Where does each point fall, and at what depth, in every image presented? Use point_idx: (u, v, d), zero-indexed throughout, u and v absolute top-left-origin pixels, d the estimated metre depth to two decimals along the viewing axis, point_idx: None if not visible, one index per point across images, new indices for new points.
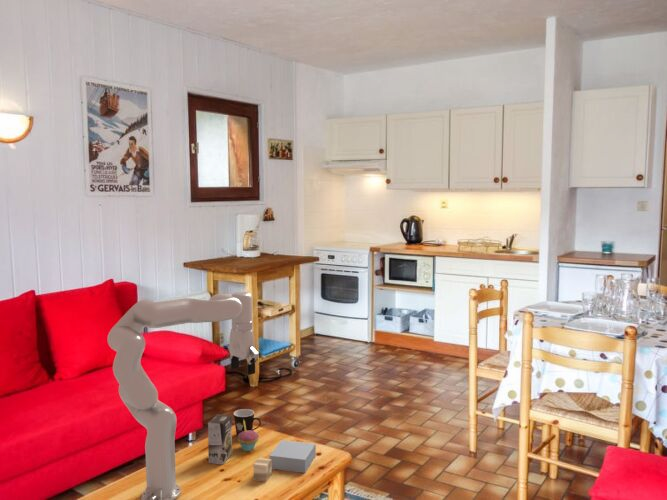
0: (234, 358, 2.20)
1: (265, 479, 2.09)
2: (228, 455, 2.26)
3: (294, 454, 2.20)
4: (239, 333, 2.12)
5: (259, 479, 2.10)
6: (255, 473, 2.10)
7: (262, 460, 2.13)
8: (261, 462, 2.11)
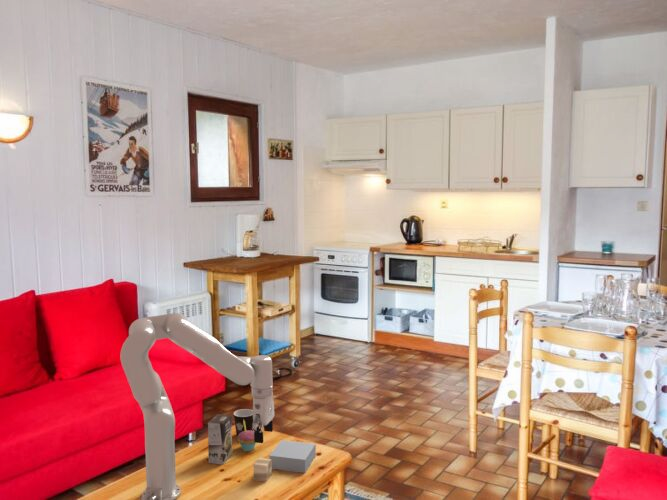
0: None
1: (265, 479, 2.09)
2: (228, 455, 2.26)
3: (294, 454, 2.20)
4: None
5: (259, 479, 2.10)
6: (255, 473, 2.10)
7: (262, 460, 2.13)
8: (261, 462, 2.11)
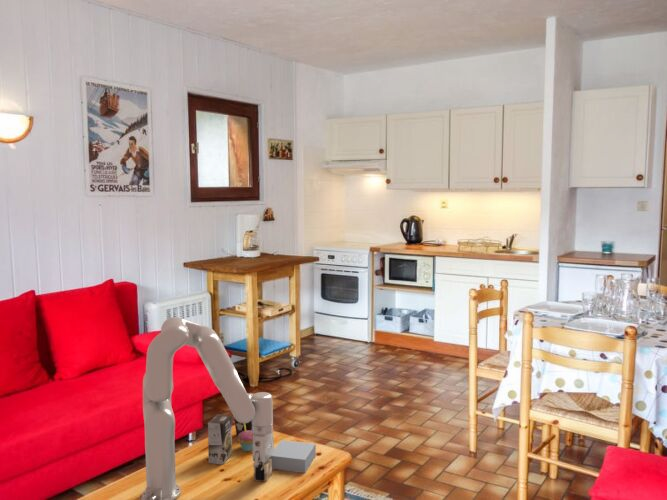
0: None
1: (265, 479, 2.09)
2: (228, 455, 2.26)
3: (294, 454, 2.20)
4: None
5: None
6: None
7: None
8: None
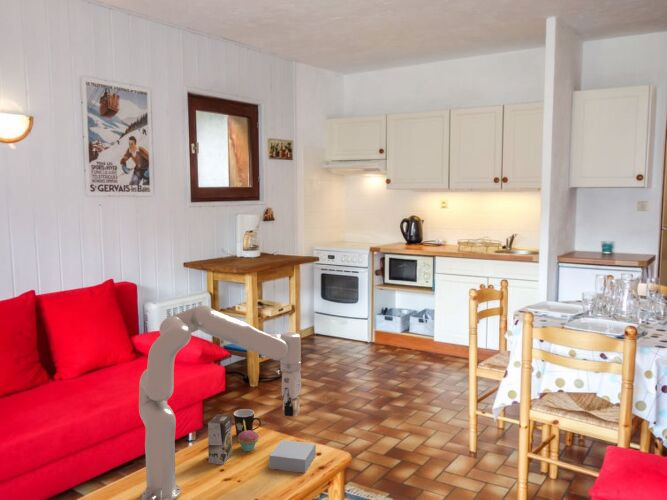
0: None
1: (294, 415, 2.18)
2: (228, 455, 2.26)
3: (294, 454, 2.20)
4: None
5: None
6: None
7: None
8: None
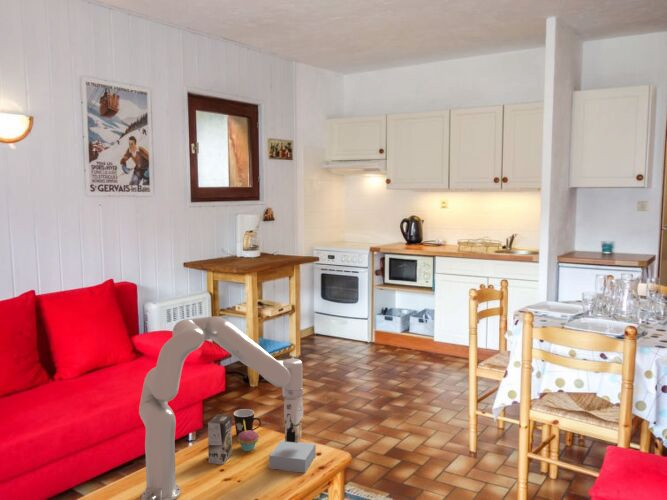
0: None
1: (296, 440, 2.20)
2: (228, 455, 2.26)
3: (294, 454, 2.20)
4: None
5: None
6: (286, 435, 2.21)
7: None
8: None
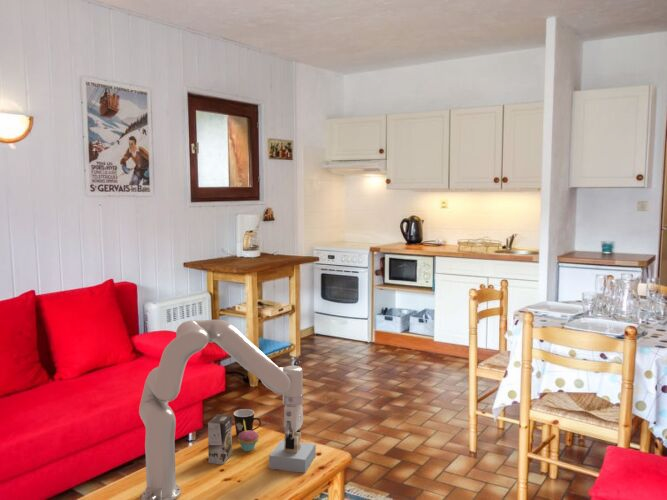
0: None
1: (295, 451, 2.20)
2: (228, 455, 2.26)
3: (294, 454, 2.20)
4: None
5: (290, 451, 2.21)
6: None
7: None
8: None
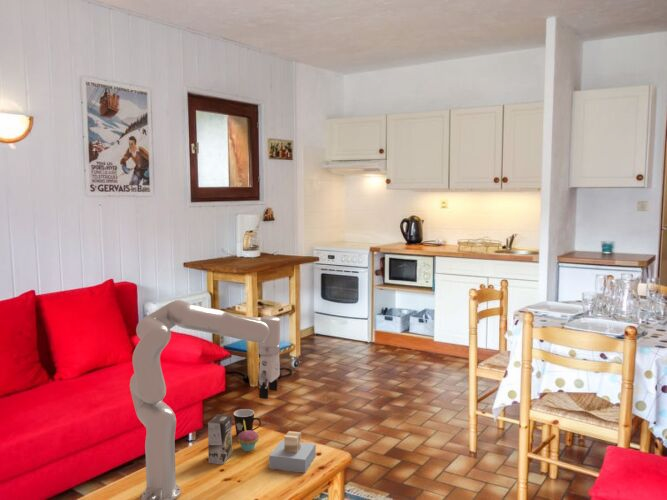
0: None
1: (295, 451, 2.20)
2: (228, 455, 2.26)
3: (294, 454, 2.20)
4: (277, 354, 2.20)
5: (290, 451, 2.21)
6: (286, 445, 2.21)
7: (292, 433, 2.24)
8: (292, 434, 2.22)
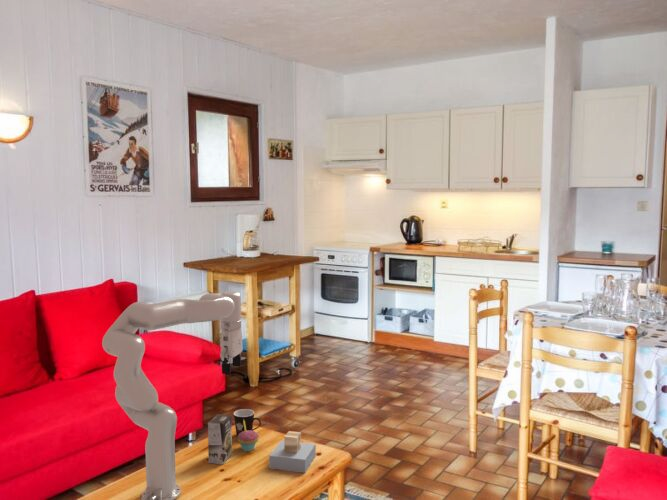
0: None
1: (295, 451, 2.20)
2: (228, 455, 2.26)
3: (294, 454, 2.20)
4: (239, 329, 2.19)
5: (290, 451, 2.21)
6: (286, 445, 2.21)
7: (292, 433, 2.24)
8: (292, 434, 2.22)
